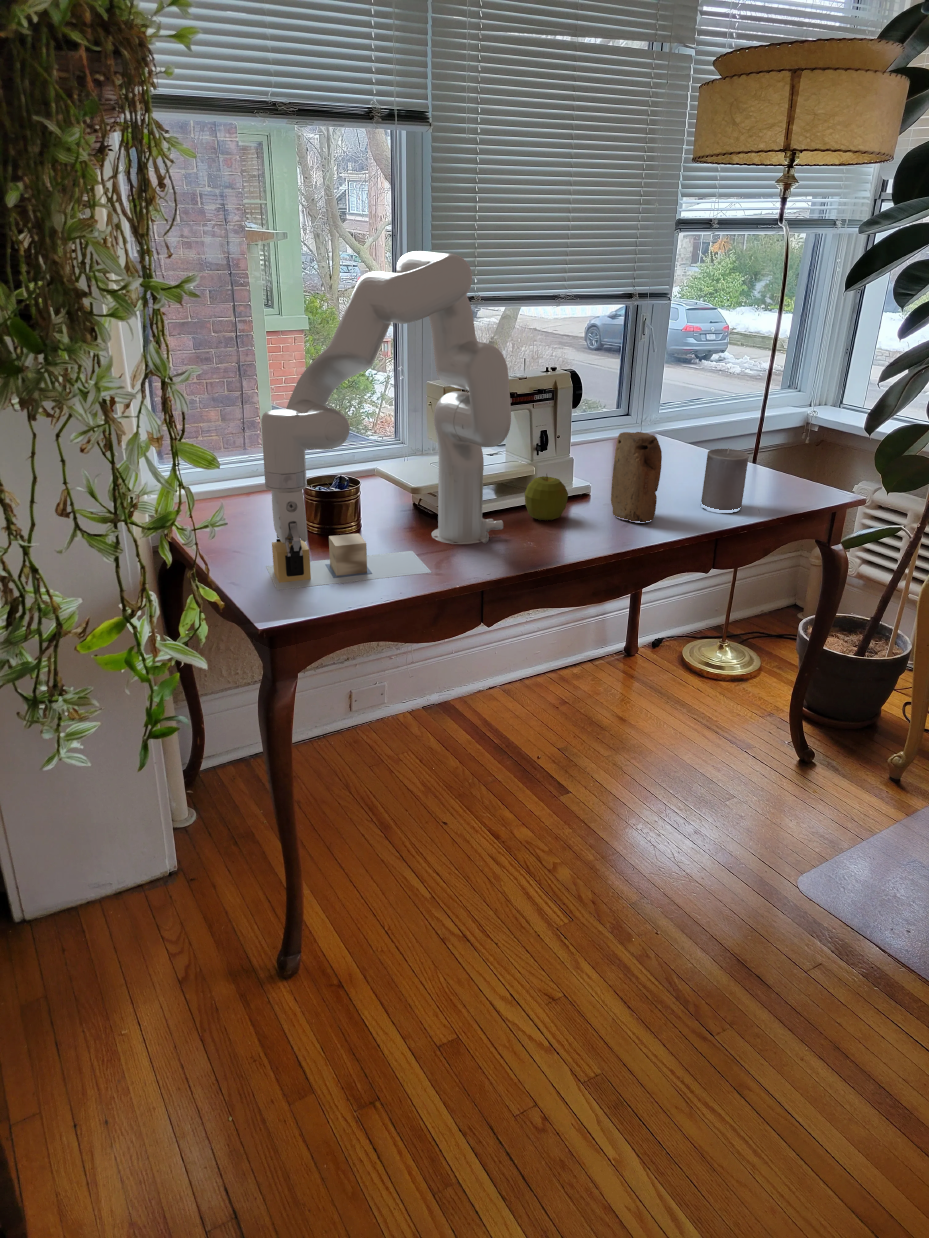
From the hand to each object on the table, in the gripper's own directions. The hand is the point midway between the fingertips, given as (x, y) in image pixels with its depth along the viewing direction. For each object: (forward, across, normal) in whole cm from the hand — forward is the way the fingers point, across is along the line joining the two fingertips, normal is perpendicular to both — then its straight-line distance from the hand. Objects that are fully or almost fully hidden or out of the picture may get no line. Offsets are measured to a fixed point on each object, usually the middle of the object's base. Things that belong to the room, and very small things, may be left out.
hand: (290, 566), depth 176 cm
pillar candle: (+2, +17, -108) cm, 110 cm away
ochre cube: (+2, 0, 0) cm, 2 cm away
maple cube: (+2, 0, -11) cm, 11 cm away
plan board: (+3, 0, -11) cm, 12 cm away
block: (+2, +16, -83) cm, 85 cm away
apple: (+3, +22, -63) cm, 67 cm away
